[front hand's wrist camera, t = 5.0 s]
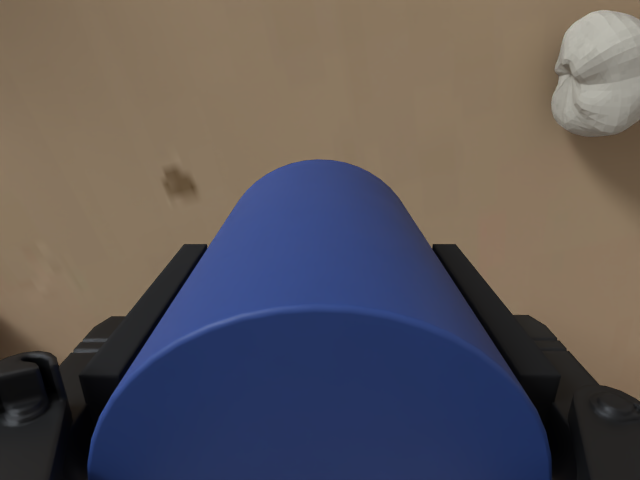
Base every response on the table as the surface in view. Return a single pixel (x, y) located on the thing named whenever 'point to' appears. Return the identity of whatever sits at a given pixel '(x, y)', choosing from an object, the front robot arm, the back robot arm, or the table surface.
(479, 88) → the table surface
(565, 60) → the dog toy
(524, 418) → the can
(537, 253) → the table surface
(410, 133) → the table surface
